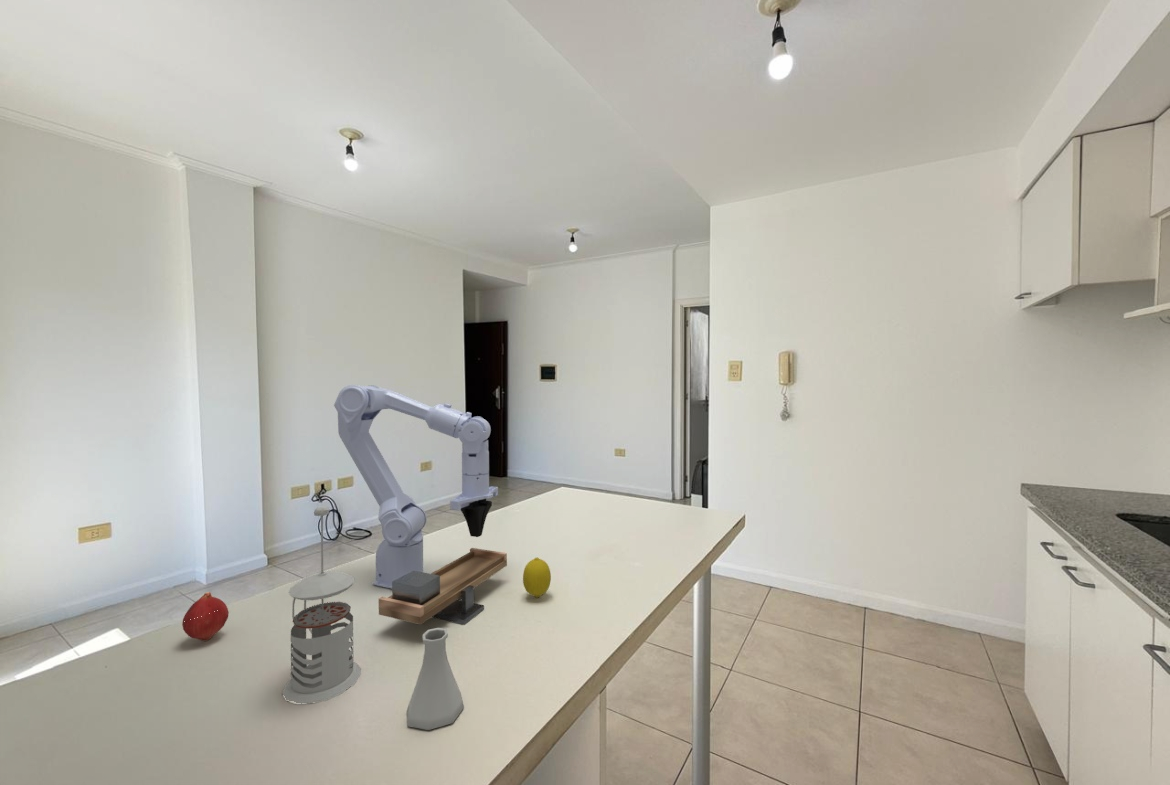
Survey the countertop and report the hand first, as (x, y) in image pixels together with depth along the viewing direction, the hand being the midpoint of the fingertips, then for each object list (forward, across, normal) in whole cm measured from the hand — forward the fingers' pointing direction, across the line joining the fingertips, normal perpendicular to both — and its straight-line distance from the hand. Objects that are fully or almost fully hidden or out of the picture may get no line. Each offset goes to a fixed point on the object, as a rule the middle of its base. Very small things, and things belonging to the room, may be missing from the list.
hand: (475, 535), depth 98 cm
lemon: (+10, -2, -16) cm, 19 cm away
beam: (+7, -11, -2) cm, 13 cm away
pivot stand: (+10, -13, -2) cm, 16 cm away
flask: (+10, -35, -19) cm, 41 cm away
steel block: (+5, -20, -2) cm, 21 cm away
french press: (+10, -36, +1) cm, 37 cm away
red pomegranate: (+10, -36, +28) cm, 47 cm away
